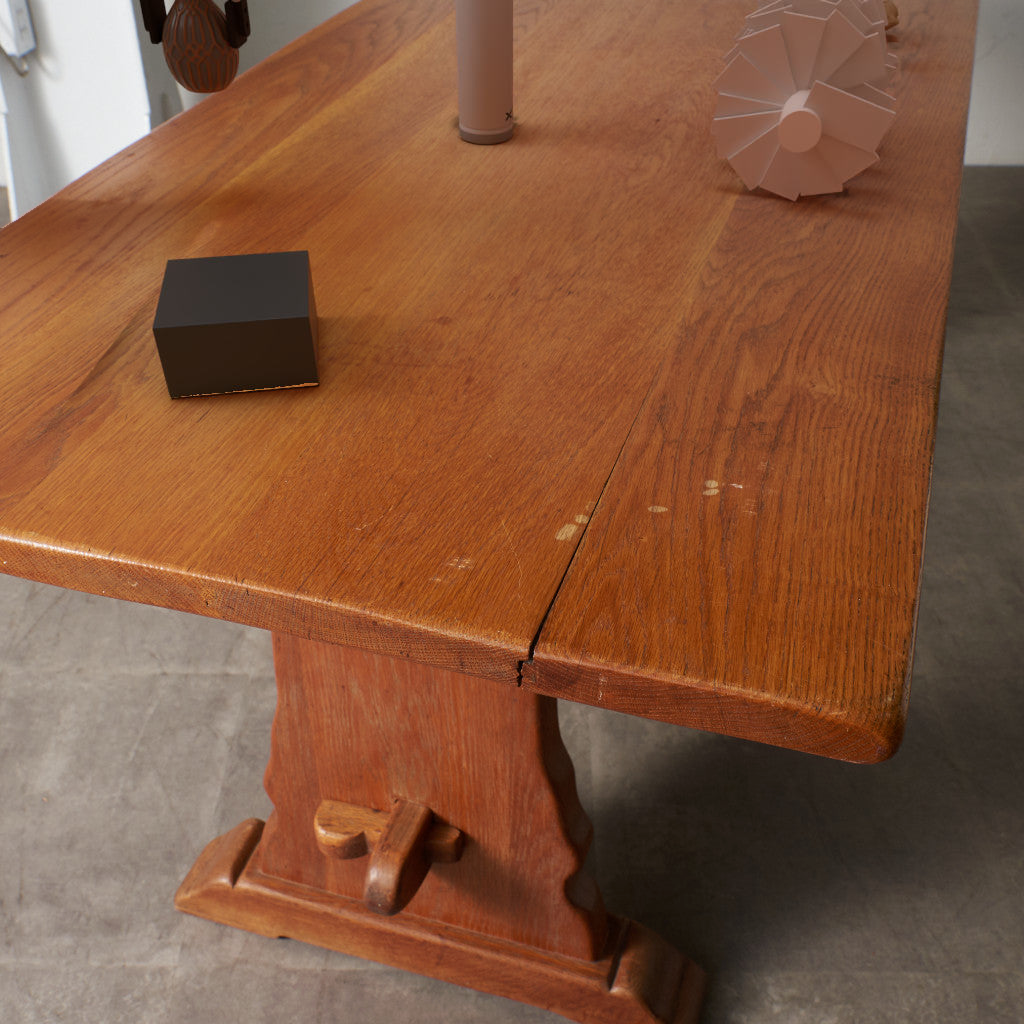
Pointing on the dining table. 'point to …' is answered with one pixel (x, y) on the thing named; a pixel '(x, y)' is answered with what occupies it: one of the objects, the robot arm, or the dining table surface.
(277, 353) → the riser block
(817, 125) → the spiral staircase
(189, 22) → the vase
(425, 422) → the dining table surface
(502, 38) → the travel mug
